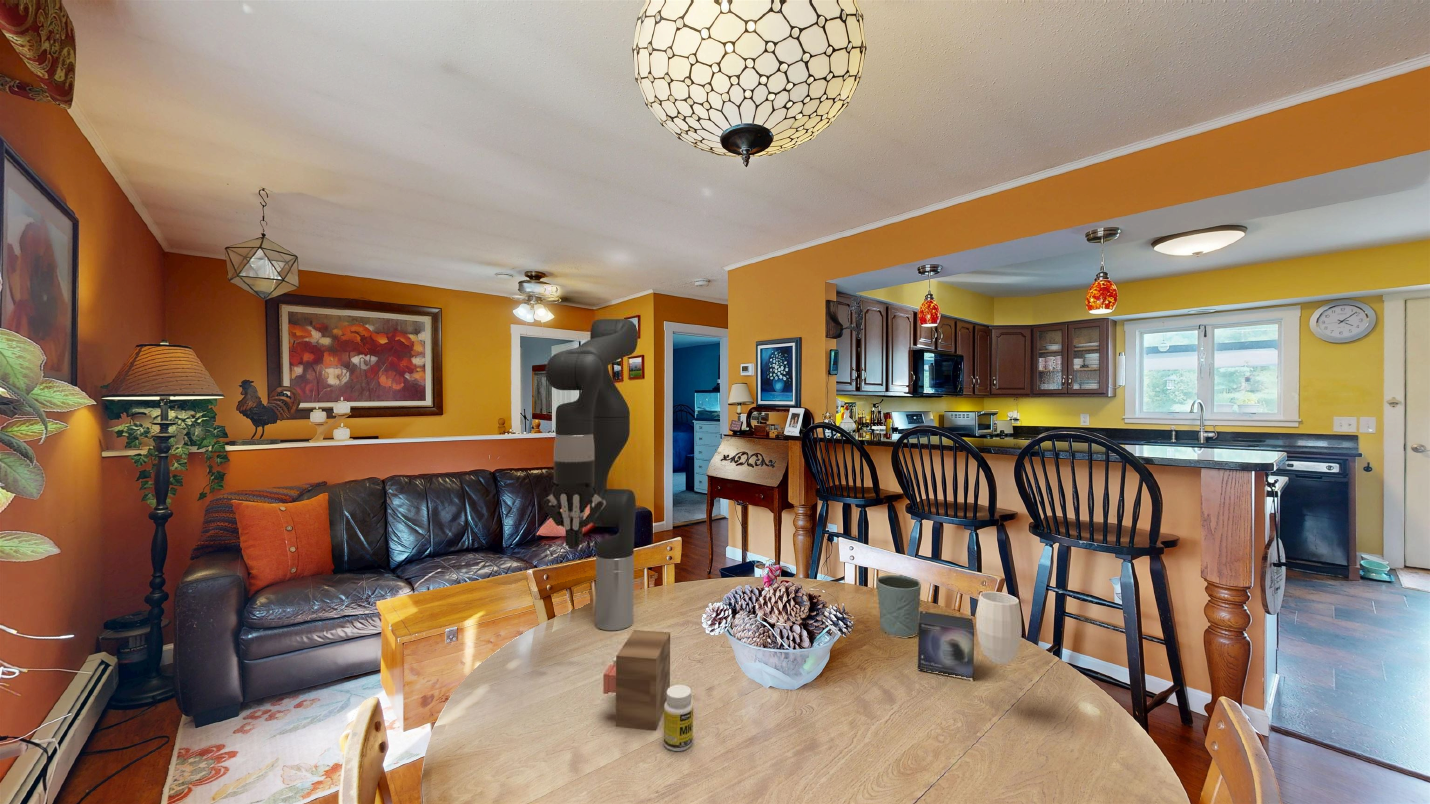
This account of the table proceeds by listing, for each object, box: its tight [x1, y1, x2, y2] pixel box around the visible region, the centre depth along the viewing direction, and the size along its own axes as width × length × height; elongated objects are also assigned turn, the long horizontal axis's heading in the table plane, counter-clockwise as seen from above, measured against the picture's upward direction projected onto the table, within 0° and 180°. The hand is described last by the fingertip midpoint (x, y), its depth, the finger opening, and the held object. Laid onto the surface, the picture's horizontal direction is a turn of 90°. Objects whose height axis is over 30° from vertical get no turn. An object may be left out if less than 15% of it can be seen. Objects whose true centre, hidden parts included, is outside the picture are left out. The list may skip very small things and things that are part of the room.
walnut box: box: [615, 629, 671, 731], centre depth 96 cm, size 10×7×12 cm
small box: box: [917, 610, 975, 679], centre depth 111 cm, size 11×6×10 cm, turn 68°
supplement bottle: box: [663, 684, 694, 752], centre depth 87 cm, size 5×5×8 cm
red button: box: [602, 663, 616, 695], centre depth 94 cm, size 3×8×3 cm, turn 82°
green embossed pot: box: [876, 574, 922, 637], centre depth 130 cm, size 10×10×12 cm
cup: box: [975, 591, 1023, 665], centre depth 96 cm, size 7×7×21 cm
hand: (573, 548), depth 103 cm, fingers closed
